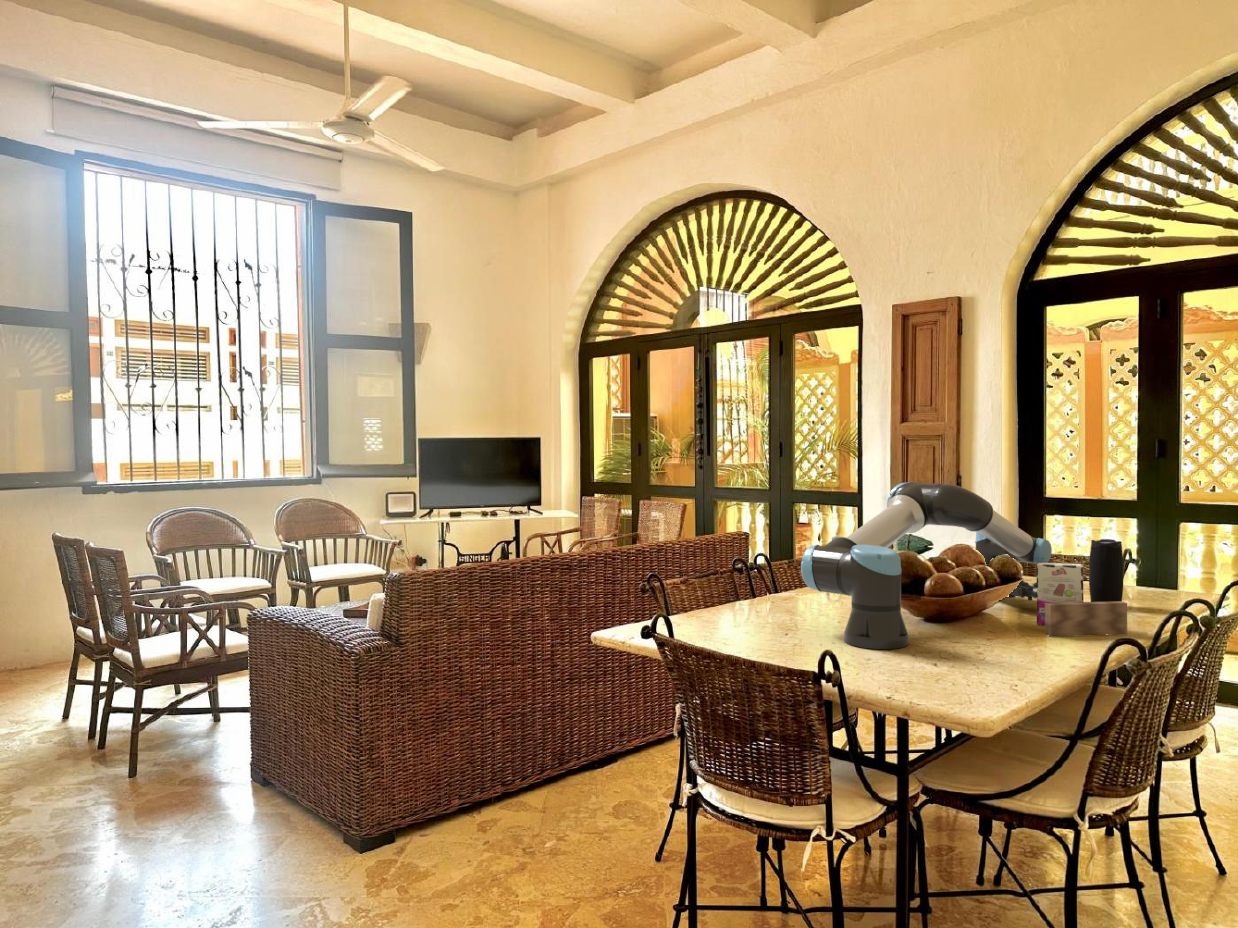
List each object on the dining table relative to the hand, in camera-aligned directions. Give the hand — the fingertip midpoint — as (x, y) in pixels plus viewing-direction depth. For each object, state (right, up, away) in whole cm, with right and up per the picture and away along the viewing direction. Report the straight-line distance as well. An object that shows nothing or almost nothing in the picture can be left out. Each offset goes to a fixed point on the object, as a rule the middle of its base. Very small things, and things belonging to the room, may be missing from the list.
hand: (1048, 597), depth 236 cm
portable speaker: (+26, -6, +17) cm, 31 cm away
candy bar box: (0, -7, -6) cm, 9 cm away
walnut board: (+1, -7, -18) cm, 19 cm away
